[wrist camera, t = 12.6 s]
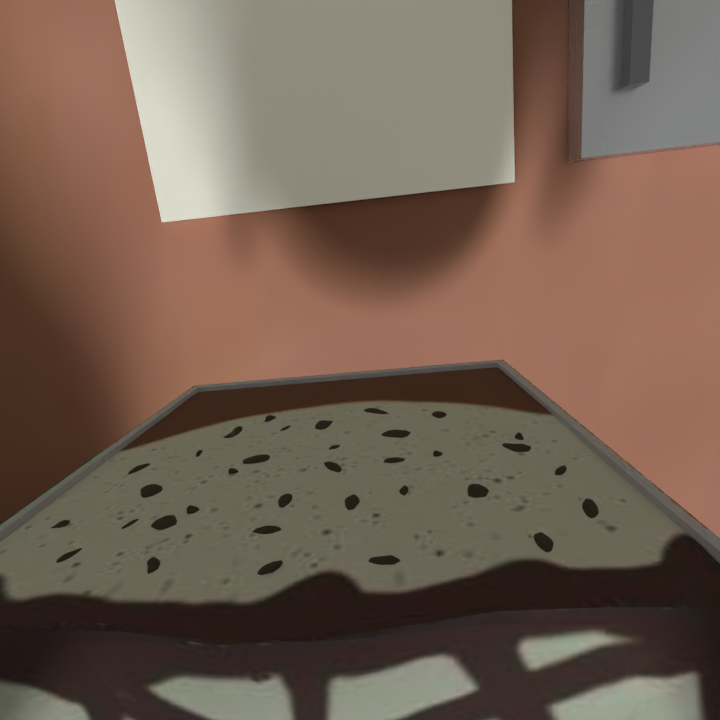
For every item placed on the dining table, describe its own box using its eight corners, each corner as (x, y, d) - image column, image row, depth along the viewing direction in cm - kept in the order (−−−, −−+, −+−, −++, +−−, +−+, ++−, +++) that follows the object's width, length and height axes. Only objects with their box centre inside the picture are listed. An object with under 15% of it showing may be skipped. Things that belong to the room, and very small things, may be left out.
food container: (187, 557, 17) (-76, 1006, 7) (146, 389, 15) (-266, 691, 6) (554, 536, 16) (808, 1025, 6) (555, 355, 14) (907, 647, 5)
